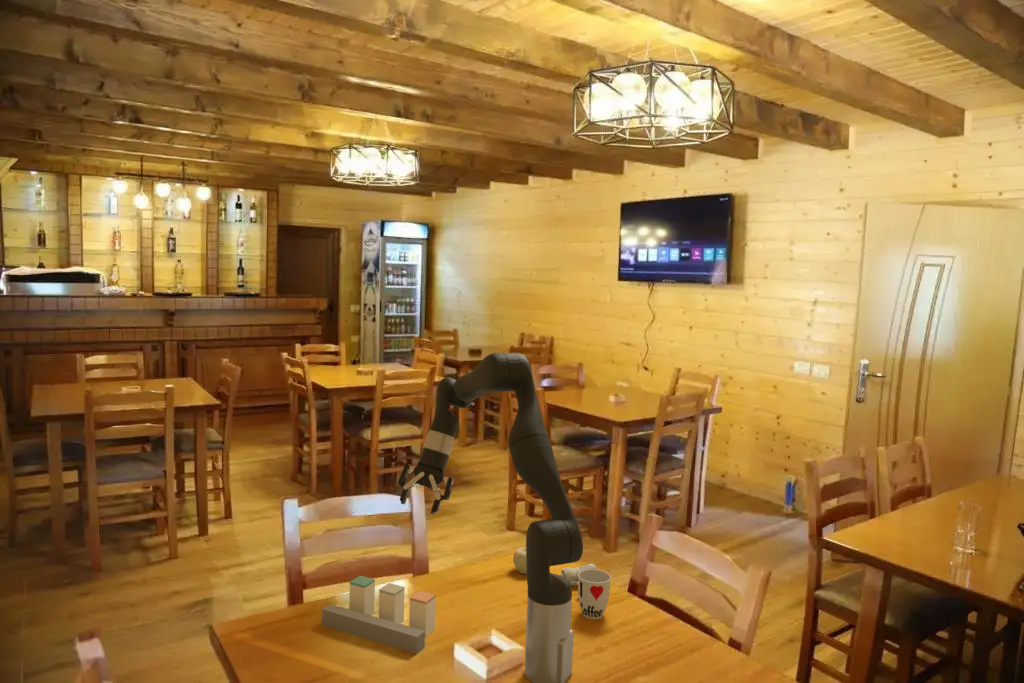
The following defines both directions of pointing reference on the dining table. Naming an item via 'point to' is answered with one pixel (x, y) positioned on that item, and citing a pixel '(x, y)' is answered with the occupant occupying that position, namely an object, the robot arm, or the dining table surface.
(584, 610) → the cup
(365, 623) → the grey base
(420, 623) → the beige and orange block
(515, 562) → the fruit
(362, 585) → the beige and green block
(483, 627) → the dining table surface
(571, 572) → the clip-on lamp
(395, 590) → the beige tall block
